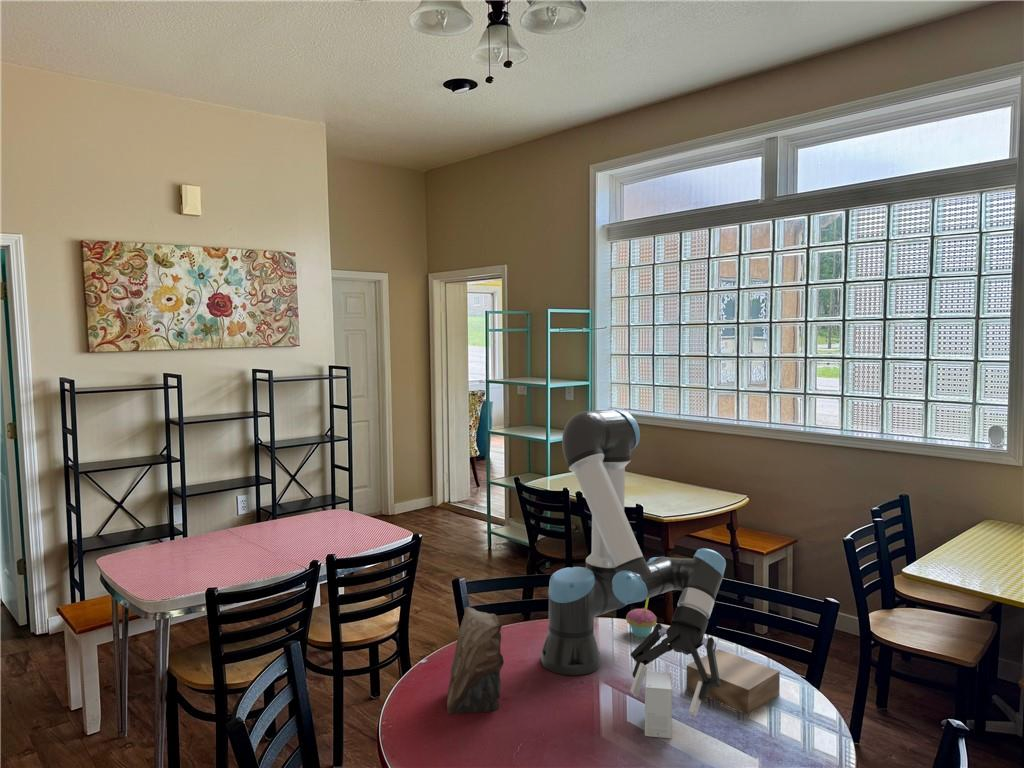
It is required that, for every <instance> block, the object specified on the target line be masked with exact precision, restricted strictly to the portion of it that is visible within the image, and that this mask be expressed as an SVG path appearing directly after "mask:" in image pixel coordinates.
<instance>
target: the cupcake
mask: <svg viewBox="0 0 1024 768" xmlns="http://www.w3.org/2000/svg"><path fill="white" fill-rule="evenodd" d="M649 599H650V598H647V599H645V605H644V607H642V608H634V609H631V610H630V611H628V612H627V613H626V617H625V619H626V623H628V624H629V625H630V627H631V628H630V629H631V633H632V635H633V636H635V637H637V638H647V637H648V636H649V635H650V634H651V633H652V629H653V627H655V626H656V624H657V620H658V619H657V618H658V617H657V615H656V614H655V613H653V611H651V610H649V609H648V605H649V601H650V600H649Z"/></svg>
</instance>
